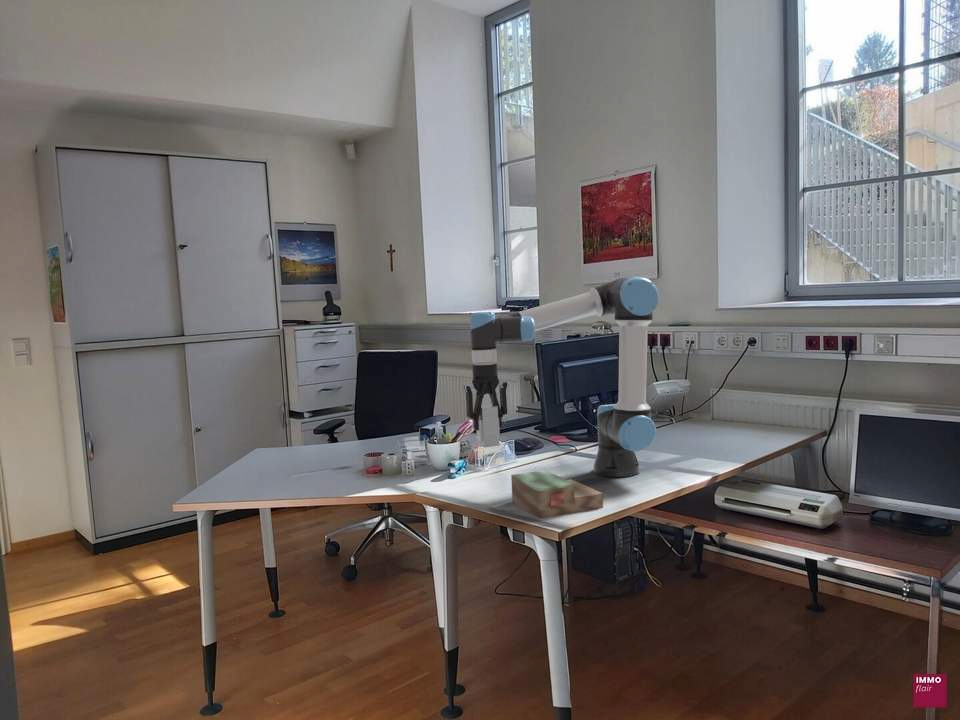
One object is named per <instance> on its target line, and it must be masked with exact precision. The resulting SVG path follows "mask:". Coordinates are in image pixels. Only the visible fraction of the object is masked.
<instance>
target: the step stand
mask: <svg viewBox="0 0 960 720" xmlns="http://www.w3.org/2000/svg"><path fill="white" fill-rule="evenodd" d="M510 477H511V478H510V479H511V500H512V502H513V503H514V504H516V505H517V506H519V507H521V508H522V509H524V510H525V511H527V512H529V513H531V514H532V515H534V516H535V517H537V518H538V519H541V518H546V517H553V516H558V515H559V516H560V515H565V514H572V513H577V512H583V511H589V510H595V509H600V508H602V509H603V508H604V493H603V492H601V491H598V490H596V489H595V488H592V487H590V486H588V485H585V484H584V483H582V482H578V481H577V480H574V479H573V478H571V479H565V478H563V477H560V476H559V475H556V474H554V473H552V472H550V471H547V470H545V469H543V470H537V471H536V470H535V471H529V472H522V473H516V474H511V476H510Z"/></svg>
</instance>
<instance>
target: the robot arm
mask: <svg viewBox="0 0 960 720" xmlns="http://www.w3.org/2000/svg"><path fill="white" fill-rule="evenodd" d="M659 300H660V296H659V291H658V288H657V286H656V285H655V284H654V283H653V282H652V281H651V280H650V279H648V278H646V277H641V276H630V277H620V278H617V279H613V280H611V281H609V282H607V283H604V284H602V285H598V286H595V287H592V288H590V289H589V291H588V292H585V293H581V294H578V295H574V296H571V297H568V298H564V299H561V300H557V301H553V302H549V303H545V304H542V305H539V306H535V307H532V308H528V309H524V310H521V311H517V312H514V313H510V314H507V315H500V316H497V317H496V316H495V315H496V314H495V312H493V311H481V312H479V311H478V312H473V313H471V314H470V319H469V320H470V322H469V323H470V325H469V331H470V342H471V344H470V345H471V362H472V363H473V364H472V382H471V383H470V384H467V385H464V386H463V390H464V392H465V401H466V402H465V403H466V404H465V406H466V407H465V408H466V417H467V418H469V419H471V420H472V421H473V422H472V423H473V430H474V431H476V440H477V442H478V441H482V422H481V420H480V419H479V415H480V410H481V405H483V398H484V396H485V395H487V394H488V395H489V397H490V401H491V404H492V405H494V406H498V425H499V440H500V439H501V435H500V429H501V428H502V426H503V419H502V418H503V417H504V415H507V414H508V400H507V398H508V397H507V388H508V382H507V381H501V380H500V379H499V377H498V364H497V363H496V362H497V361H498V357H497V356H498V355H497V353H498V352H497V343H499V344H501V343H515V342H516V343H517V342H522V343H525V342H528V341H532V340H534V338H535V336H536V332H538V331H541V330H545V329H548V328H552V327H557V326H560V325H563V324H566V323H570V322H574V321H578V320H582V319H585V318H588V317H592V316H597V317H604V316H607V315H614V322H616V324H617V325H618V326H619V327H618V328H619V329H618V331H619V333H618V334H619V337H618V339H619V340H618V354H619V355H618V399H617V400H618V401H617V402H616V403H610V404H601V405H598V407H597V413H596V417H597V418H596V419H597V423H596V424H597V444H598V445H597V447H598V449H597V453H596V457H595V460H594V462H593V473H594V474H595V475H597V476H602V477H609V478H624V477H632V476H635V475H636V476H637V474H639V473H640V463H639V462H638V461H639V460H638V457H637V454H636V452H641V451H644V450H646V449H648V448H649V447H650V446H651V445H652V444H653V443H654V441H655V439H656V436H657V427H656V424H655V422H654V421H653V420H652V419H651V417H652V415H651V414H652V407H651V406H650V405H649V404H648V403H647V371H648V370H647V369H648V368H647V366H648V360H647V358H648V356H647V355H648V326H649V325H650V324H651V323H652V322H653V318H654V317H653V316H654V315H653V313H654V311H655V310H656V308H657V306H658V305H659ZM497 387H498V388H499V399H498V396H497V391H496V389H497ZM474 389H475V391H476V393H475V402H474V400H473V399H474V398H473V396H474V395H473V391H474ZM473 402H474V403H473Z"/></svg>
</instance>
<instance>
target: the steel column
mask: <svg viewBox="0 0 960 720" xmlns="http://www.w3.org/2000/svg"><path fill="white" fill-rule="evenodd" d="M479 419H480V420H481V422H482V441H478V440H477V445H478V446H480V447H483V448H492V447H499V446H500V439H499V429H500V427H499V425H498V406H494V405H492V403H491V404H490V403H489V404H482V405H481V410H480V415H479Z"/></svg>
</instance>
